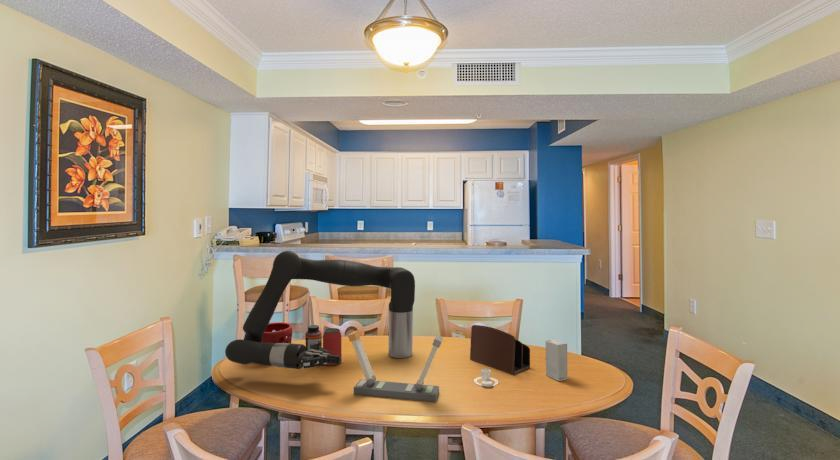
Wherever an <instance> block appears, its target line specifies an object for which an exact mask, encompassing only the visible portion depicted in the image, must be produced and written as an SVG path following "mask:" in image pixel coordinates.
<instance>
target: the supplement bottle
mask: <svg viewBox="0 0 840 460" xmlns="http://www.w3.org/2000/svg"><path fill="white" fill-rule="evenodd" d="M305 347H306V349H307V350H310V349H315V350H317V351H318V350H319V348H323V334H322V331H321V330H320V325H318V324H311V325H308V326H307V331H306V332H305Z"/></svg>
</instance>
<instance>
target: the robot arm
mask: <svg viewBox="0 0 840 460" xmlns="http://www.w3.org/2000/svg"><path fill="white" fill-rule="evenodd" d="M269 274H270V275H269V277H268V280H267V281H266V284H265V286H264V288H263V290H262V291H261V292H260V295H259V296H258V298H257V300H256V301H255V303H254V305H253V307H252V308H251V310H250V311H249V314H248V315H247V318H246V320H245V321H244V324H243V325H242V331H243V332H244V333H245V335H244V336H243V337H244V338H243V339H235V340H232V341H231V342H229V343H228V344H227V345H226V347H225V350H224V353H225V357H226V358H227V360H228V361H230V362H232V363H236V364H241V365H249V364H251V363H252V364H257V365H260V366H268V367H269V366H270V367H276V368H282V369H283V368H284V369H294V370H300V369H311V368H316V367H317V368H318V367H322V366H324V365H325V364H327V363H333V364H338V365H339V364H340V362H341V363H342V355H341V356H340V355H330V351H328V350H326V349H324V348H323V347H322V348H319V350H318V351H317V350H315V349H310V350H307V349H306V344H302V343H292V342H291V343H261V342H262V337H263V333H264V331H265V330H266V328H267V326H268V324H270V323H271V322H270V321H271V320H272V318H273V315H274V314H275V311H276V309H277V306H278V305H279V304H278V303H279V301H280V300H281V297H282V296H283V294H284V292H285V290H286V289H287V286H288V285H289V284H290V282H291V280H308V281H309V280H310V281H316V282H321V283H325V284H331V285H335V286H337V285H338V286H344V287H366V286H377V287H382V288H386V289H390V301H389V303H388V356H389V357H391V358H394V359H406V358H410V357H411V356H413V341H414V340H413V336H414V335H413V333H414V331H413V330H414V329H413V327H414V326H413V325H414V324H413V323H414V322H413V321H414V317H413V316H414V315H413V314H414V311H413V310H414V309H413V308H414V304H415V300H416V299H415V297H416V296H415V295H416V294H415V293H416V292H415V291H416V280H415V276H414V274H413V273H412V271H410V270H408V269H407V268H404V267H398V266H396V267H393V266H392V267H391V266H377V265H376V266H375V265H370V264H368V263H365V262H364V263H363V262H357V261H352V260H343V259H319V260H318V259H317V260H315V259H308V258H303V257H300V256H299V255H298V253H296V252H295V251H292V250H284V251H281V252H280V253H278V254H277V255H276V256H275V257H274V260H273V263H272V268H271V271H270V273H269Z"/></svg>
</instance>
